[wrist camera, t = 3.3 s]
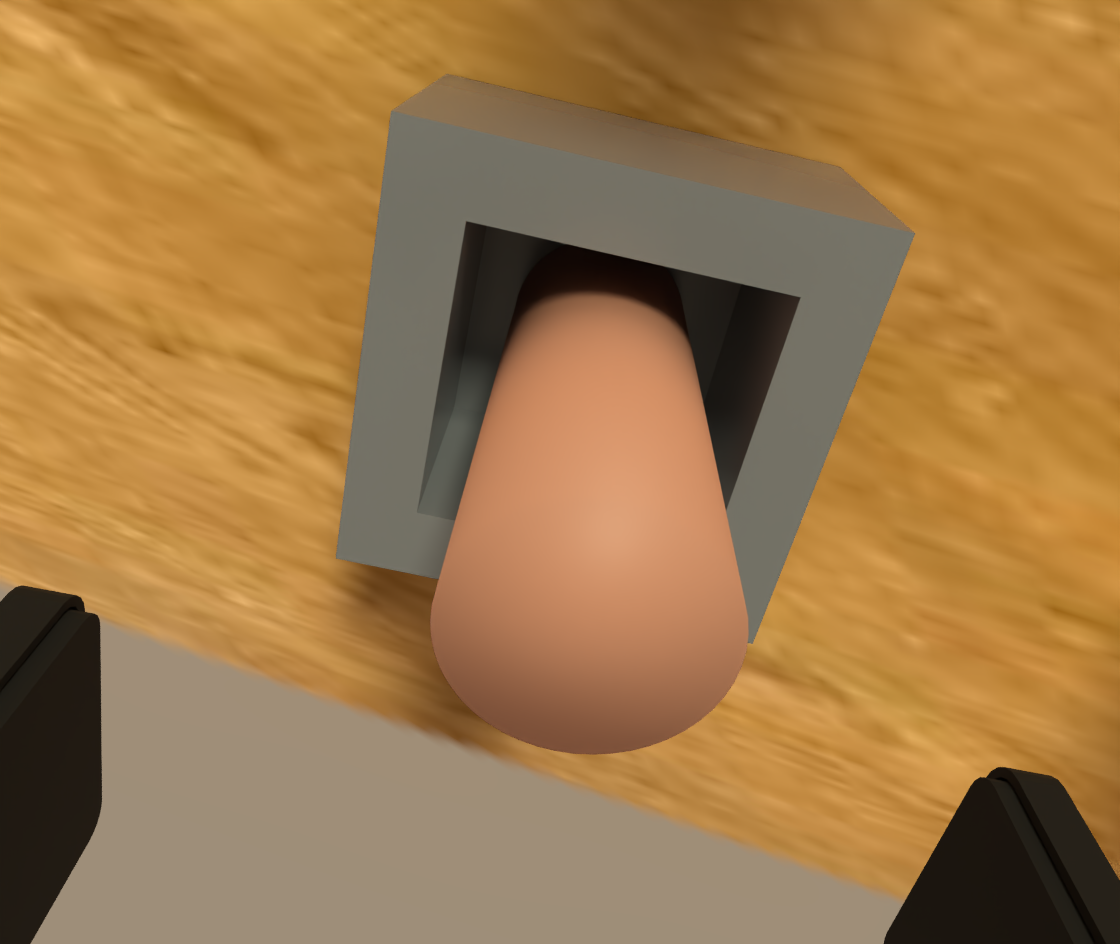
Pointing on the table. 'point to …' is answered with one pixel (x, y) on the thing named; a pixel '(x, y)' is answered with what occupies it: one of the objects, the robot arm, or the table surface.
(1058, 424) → the table surface
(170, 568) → the table surface
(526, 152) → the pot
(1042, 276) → the table surface
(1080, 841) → the robot arm
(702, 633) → the dowel
